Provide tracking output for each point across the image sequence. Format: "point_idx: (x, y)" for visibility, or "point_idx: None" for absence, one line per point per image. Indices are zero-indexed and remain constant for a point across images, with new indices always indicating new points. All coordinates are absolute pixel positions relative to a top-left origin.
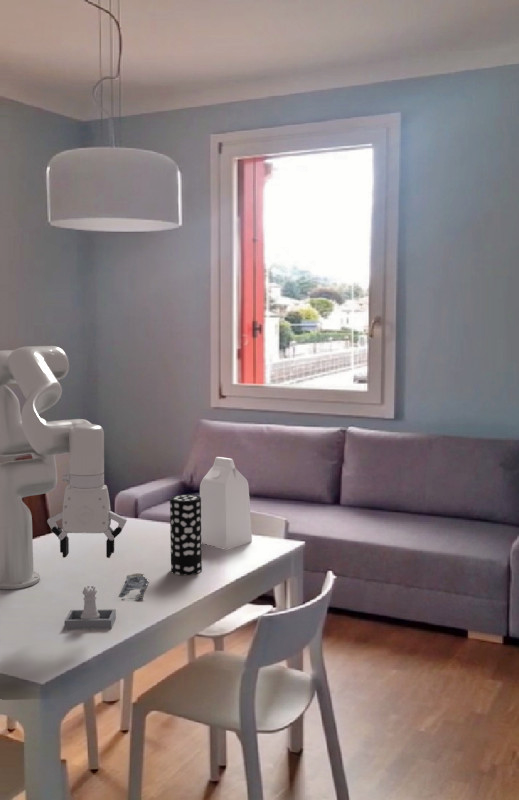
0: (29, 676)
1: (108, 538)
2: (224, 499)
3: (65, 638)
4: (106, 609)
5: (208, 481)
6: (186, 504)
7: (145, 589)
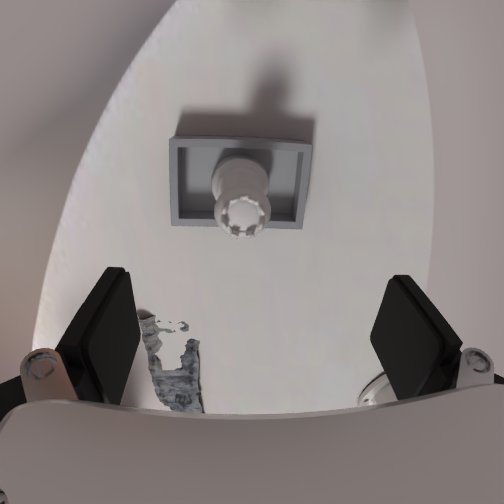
0: None
1: (62, 364)
2: None
3: (295, 79)
4: (197, 225)
5: None
6: None
7: (149, 365)
